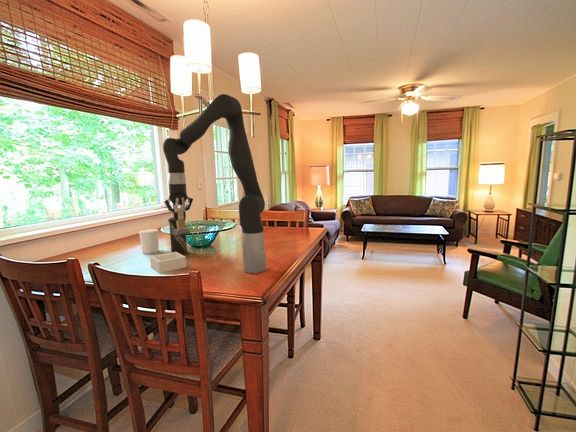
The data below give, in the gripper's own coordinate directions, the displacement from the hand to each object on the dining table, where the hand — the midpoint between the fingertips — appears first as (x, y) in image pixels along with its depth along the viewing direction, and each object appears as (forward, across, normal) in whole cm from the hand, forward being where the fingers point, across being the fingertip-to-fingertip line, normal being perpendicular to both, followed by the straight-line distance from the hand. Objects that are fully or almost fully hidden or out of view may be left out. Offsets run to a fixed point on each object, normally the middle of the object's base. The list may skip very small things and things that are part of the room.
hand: (179, 219), depth 141 cm
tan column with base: (+6, 0, -1) cm, 7 cm away
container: (+22, +6, +20) cm, 30 cm away
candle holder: (+22, -4, +36) cm, 42 cm away
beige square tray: (+21, -7, 0) cm, 22 cm away
